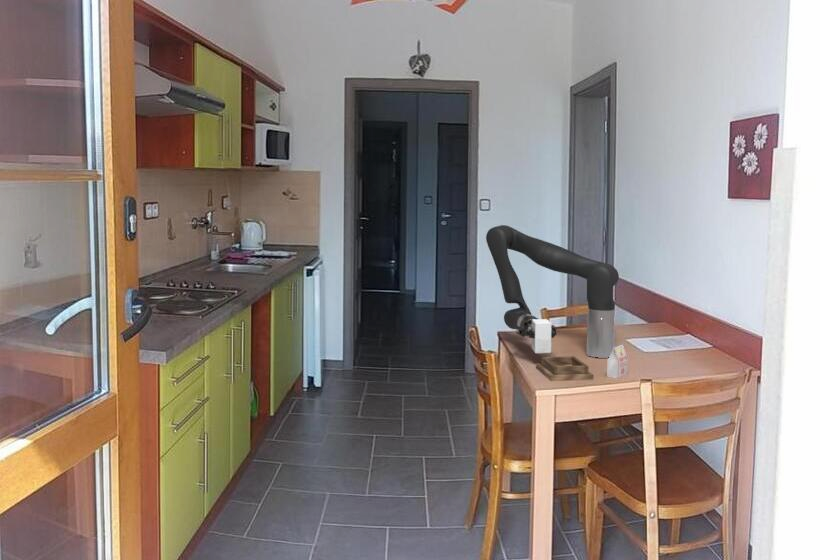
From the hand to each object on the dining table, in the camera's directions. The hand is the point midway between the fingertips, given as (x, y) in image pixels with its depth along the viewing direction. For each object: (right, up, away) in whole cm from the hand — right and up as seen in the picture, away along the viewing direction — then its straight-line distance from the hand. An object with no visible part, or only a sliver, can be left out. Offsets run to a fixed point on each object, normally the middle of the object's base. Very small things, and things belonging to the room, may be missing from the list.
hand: (543, 335), depth 248 cm
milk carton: (+22, -13, -12) cm, 28 cm away
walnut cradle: (+5, -12, -9) cm, 16 cm away
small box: (0, -6, +3) cm, 7 cm away
